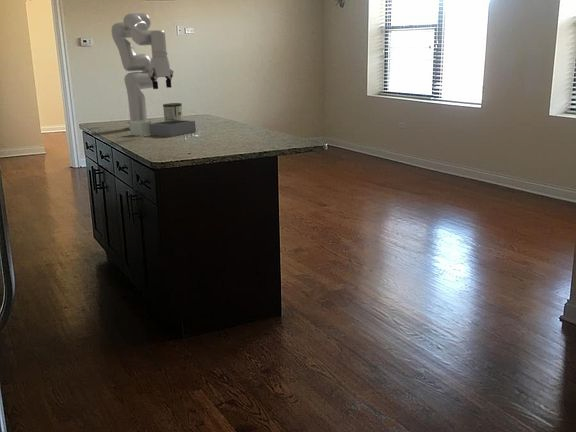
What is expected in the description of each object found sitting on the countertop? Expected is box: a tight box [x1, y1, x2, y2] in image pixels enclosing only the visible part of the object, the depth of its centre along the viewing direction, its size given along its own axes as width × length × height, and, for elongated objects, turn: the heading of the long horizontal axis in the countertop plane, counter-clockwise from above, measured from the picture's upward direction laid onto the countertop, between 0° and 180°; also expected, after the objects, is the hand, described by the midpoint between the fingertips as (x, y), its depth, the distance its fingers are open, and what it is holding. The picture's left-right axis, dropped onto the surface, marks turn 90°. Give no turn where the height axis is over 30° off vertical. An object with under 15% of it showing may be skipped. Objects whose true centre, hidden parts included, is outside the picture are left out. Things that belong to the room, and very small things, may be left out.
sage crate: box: [129, 120, 152, 137], centre depth 340 cm, size 9×7×7 cm
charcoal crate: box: [149, 119, 197, 137], centre depth 338 cm, size 16×18×6 cm
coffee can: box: [162, 102, 184, 121], centre depth 356 cm, size 10×10×14 cm
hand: (162, 88), depth 336 cm, fingers open, 9 cm apart
